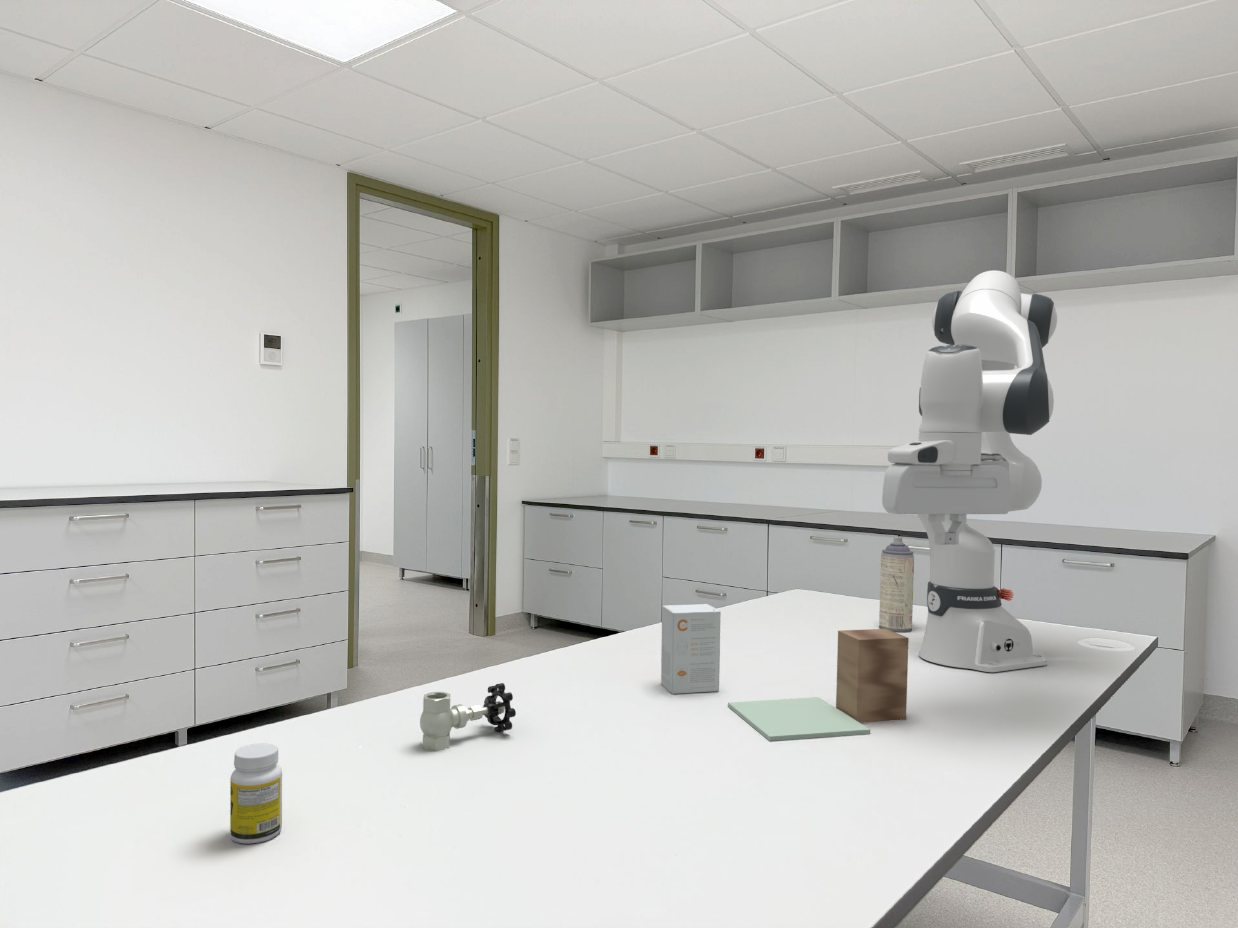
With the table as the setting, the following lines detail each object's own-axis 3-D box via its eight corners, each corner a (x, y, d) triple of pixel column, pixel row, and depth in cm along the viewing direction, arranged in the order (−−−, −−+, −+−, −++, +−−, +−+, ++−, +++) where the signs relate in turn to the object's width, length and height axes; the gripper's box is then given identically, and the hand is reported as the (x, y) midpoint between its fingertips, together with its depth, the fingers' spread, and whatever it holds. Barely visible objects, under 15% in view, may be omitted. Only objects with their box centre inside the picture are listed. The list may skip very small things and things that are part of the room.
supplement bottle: (240, 823, 86) (240, 741, 86) (288, 822, 87) (288, 740, 86) (222, 845, 81) (222, 759, 81) (272, 844, 82) (273, 758, 82)
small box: (706, 680, 141) (708, 603, 141) (719, 692, 135) (721, 610, 135) (659, 683, 139) (661, 604, 139) (671, 694, 133) (673, 612, 133)
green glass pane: (818, 700, 131) (818, 696, 131) (870, 733, 117) (870, 729, 117) (727, 706, 128) (728, 702, 128) (769, 740, 113) (769, 736, 113)
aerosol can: (918, 631, 182) (921, 539, 182) (889, 632, 181) (892, 539, 180) (900, 625, 189) (903, 535, 188) (873, 625, 187) (875, 535, 187)
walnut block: (884, 706, 129) (886, 628, 129) (907, 719, 123) (909, 637, 123) (835, 710, 127) (838, 630, 127) (856, 723, 121) (858, 639, 121)
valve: (433, 757, 105) (515, 737, 113) (434, 704, 105) (516, 688, 113) (409, 742, 110) (490, 724, 118) (410, 692, 110) (490, 677, 118)
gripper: (994, 453, 133) (992, 541, 133) (878, 450, 128) (875, 542, 128) (1023, 453, 127) (1020, 546, 127) (901, 451, 122) (899, 547, 122)
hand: (946, 544), depth 128 cm, fingers closed
